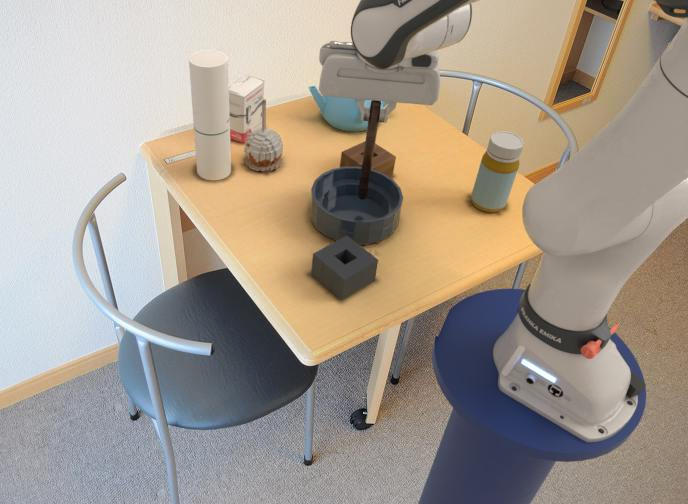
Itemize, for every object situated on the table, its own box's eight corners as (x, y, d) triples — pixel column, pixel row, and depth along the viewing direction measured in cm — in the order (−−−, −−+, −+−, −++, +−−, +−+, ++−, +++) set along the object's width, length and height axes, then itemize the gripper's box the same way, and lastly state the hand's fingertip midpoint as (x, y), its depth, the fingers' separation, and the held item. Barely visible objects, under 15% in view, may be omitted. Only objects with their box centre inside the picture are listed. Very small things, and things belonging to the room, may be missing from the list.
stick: (368, 199, 128) (384, 99, 113) (361, 202, 127) (376, 102, 112) (362, 194, 129) (376, 95, 114) (355, 198, 128) (369, 98, 113)
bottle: (474, 189, 136) (493, 126, 126) (508, 199, 134) (529, 136, 124) (466, 207, 132) (484, 143, 121) (500, 218, 130) (522, 154, 119)
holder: (392, 176, 138) (396, 156, 135) (365, 190, 135) (368, 170, 131) (366, 158, 143) (369, 139, 139) (339, 171, 139) (341, 151, 136)
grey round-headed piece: (258, 148, 144) (258, 86, 134) (288, 160, 141) (291, 97, 131) (238, 165, 139) (236, 102, 129) (269, 177, 136) (270, 114, 126)
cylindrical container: (235, 163, 140) (232, 52, 123) (225, 182, 135) (221, 69, 117) (203, 158, 141) (196, 47, 124) (192, 177, 136) (183, 64, 118)
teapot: (371, 145, 147) (377, 100, 139) (304, 121, 153) (307, 77, 145) (399, 115, 156) (407, 72, 149) (336, 94, 163) (340, 51, 155)
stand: (374, 280, 116) (378, 259, 112) (341, 300, 112) (344, 279, 108) (344, 255, 120) (346, 235, 117) (310, 274, 116) (312, 253, 113)
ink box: (244, 144, 145) (243, 96, 137) (225, 137, 147) (223, 89, 139) (264, 126, 151) (265, 79, 142) (246, 120, 152) (245, 73, 144)
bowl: (416, 223, 127) (421, 198, 123) (351, 259, 119) (355, 234, 115) (355, 180, 137) (358, 156, 133) (291, 211, 129) (293, 187, 125)
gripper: (319, 48, 104) (313, 124, 114) (448, 59, 103) (431, 135, 113) (321, 31, 109) (316, 105, 118) (445, 42, 108) (429, 115, 117)
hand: (373, 120), depth 116 cm, fingers closed on stick, 2 cm apart
